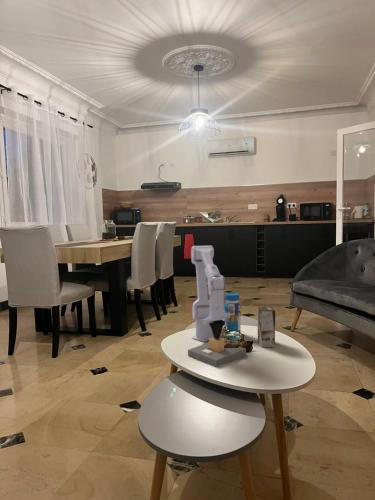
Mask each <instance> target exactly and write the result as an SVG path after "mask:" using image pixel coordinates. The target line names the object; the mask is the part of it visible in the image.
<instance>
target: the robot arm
mask: <svg viewBox="0 0 375 500" xmlns="http://www.w3.org/2000/svg"><path fill="white" fill-rule="evenodd" d="M214 251H215V249H214V247H213V245H193V246H192V247H191V248H190V257H191V259H190V260H191V263H192V264H193V265H194V266H195V273H196V288H197V289H196V290H197V293H196V294H197V299H196V300H195V301H193V303H192V306H191V315H192V319H193V320H194V321H195V336H192V337H191V339H193V340H197V341H200V342H202V343H204V342H207V341H208V342H209V338H211V337H214V338H216V339H219V338H221V334H222V332H223V331H222V330H223V329H224V325H225V321H224V320H225V319H226V318H230V313H224V305H225V304H224V302H225V301H224V300H225V294H224V292H225V290H226V286H227V283H226V277H225V276H223V275H222V274H221V273H220V270H219V269H218V266H217V265H216V264H214V261H213V259H214V255H215V252H214ZM208 295H209V297H208ZM208 298H209V299H208Z"/></svg>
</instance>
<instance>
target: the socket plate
mask: <svg viewBox="0 0 375 500" xmlns="http://www.w3.org/2000/svg"><path fill="white" fill-rule="evenodd" d="M246 355H247V348H245V347H242V346H239V347H238V348H224V351H222V352H220V353H217V352H214V351H211V350H209V342H207V343H204V344H201V345H198V346H195V347H191V348H188V349H187V356H188V357H191V358H193V359H195V360H198V361H200V362H203V363H205V364H209V365H211V366H213V367H216V368H217V367H220V366H222V365H225V364H227V363H229V362H231V361H234V360H236V359H239V358H241V357H244V356H246Z"/></svg>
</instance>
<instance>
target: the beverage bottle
mask: <svg viewBox="0 0 375 500" xmlns="http://www.w3.org/2000/svg"><path fill="white" fill-rule="evenodd" d="M224 300H225V301H226V302H225V304H224V313H230V318H226V319H225V320H223V321H225V325H224V326H223V328H224V327H225V326H226V327H227V330H229V331H236V332H239V333H240V334H241V331H242V330H241V325H242V322H241V321H242V319H241V315H242V311H241V308H242V307H241V304H240V302H239V301H240V294H239V293H238V292H226V293H225V294H224Z"/></svg>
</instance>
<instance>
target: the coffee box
mask: <svg viewBox="0 0 375 500" xmlns="http://www.w3.org/2000/svg"><path fill="white" fill-rule="evenodd" d="M257 342H258V344H259V346H260V348H275V347H276V309H274V308H273V307H272V306H257Z"/></svg>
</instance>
